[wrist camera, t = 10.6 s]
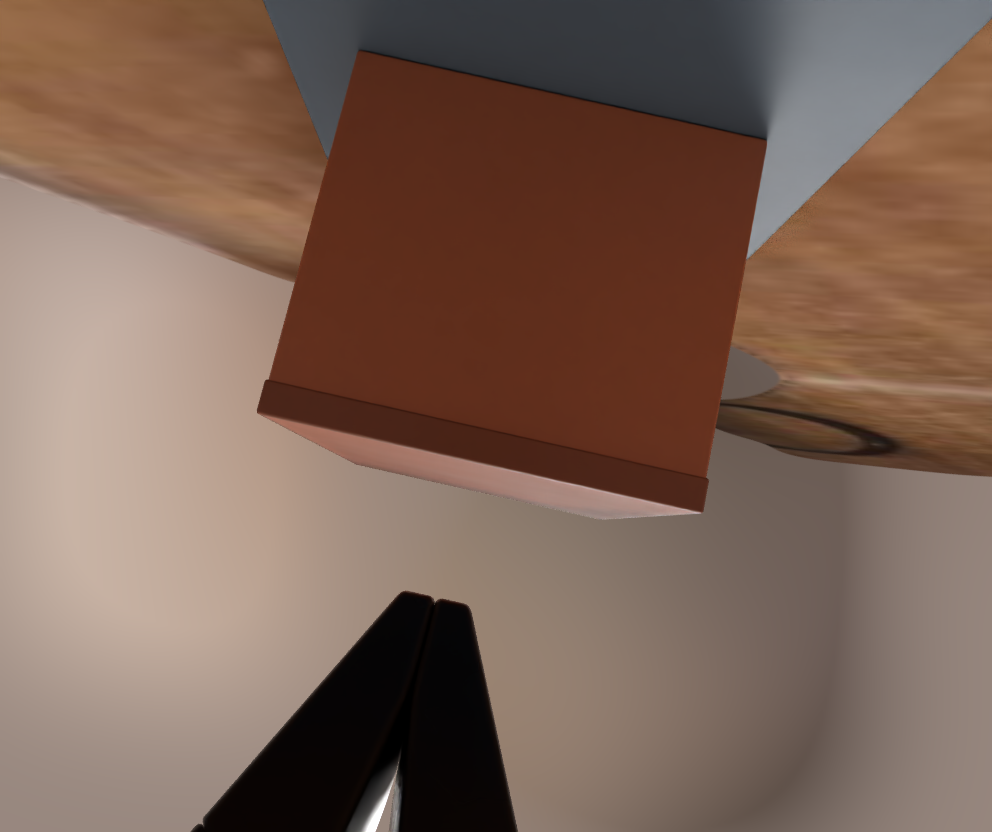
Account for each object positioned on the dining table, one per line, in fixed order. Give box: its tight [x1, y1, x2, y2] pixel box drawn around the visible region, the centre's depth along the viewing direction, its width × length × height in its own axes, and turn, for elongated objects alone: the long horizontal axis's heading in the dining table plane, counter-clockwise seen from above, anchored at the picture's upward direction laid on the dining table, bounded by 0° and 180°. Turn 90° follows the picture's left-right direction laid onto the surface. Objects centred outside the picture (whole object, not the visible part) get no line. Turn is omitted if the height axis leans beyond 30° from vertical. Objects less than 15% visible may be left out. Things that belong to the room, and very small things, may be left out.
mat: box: [263, 0, 992, 260], centre depth 22 cm, size 25×14×1 cm, turn 179°
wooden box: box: [257, 51, 767, 519], centre depth 25 cm, size 14×10×9 cm
